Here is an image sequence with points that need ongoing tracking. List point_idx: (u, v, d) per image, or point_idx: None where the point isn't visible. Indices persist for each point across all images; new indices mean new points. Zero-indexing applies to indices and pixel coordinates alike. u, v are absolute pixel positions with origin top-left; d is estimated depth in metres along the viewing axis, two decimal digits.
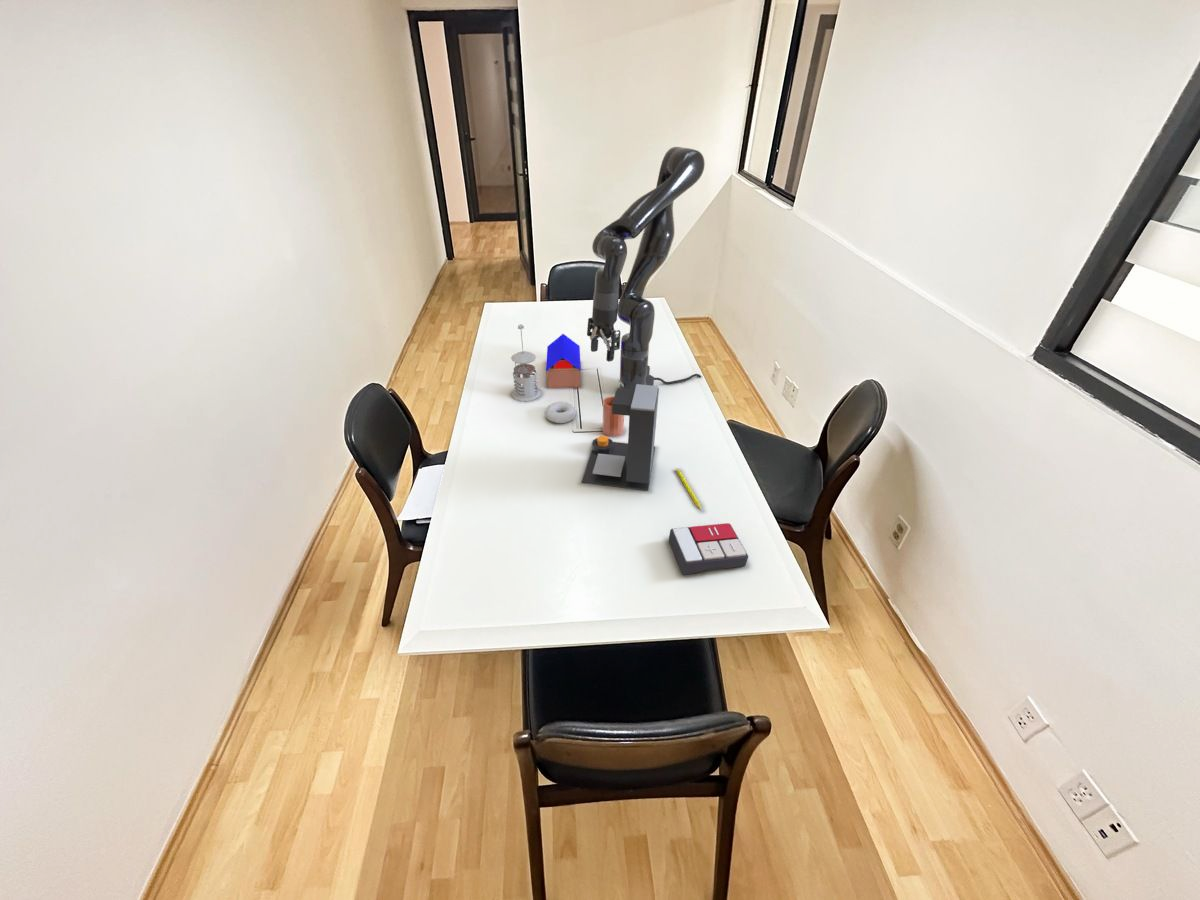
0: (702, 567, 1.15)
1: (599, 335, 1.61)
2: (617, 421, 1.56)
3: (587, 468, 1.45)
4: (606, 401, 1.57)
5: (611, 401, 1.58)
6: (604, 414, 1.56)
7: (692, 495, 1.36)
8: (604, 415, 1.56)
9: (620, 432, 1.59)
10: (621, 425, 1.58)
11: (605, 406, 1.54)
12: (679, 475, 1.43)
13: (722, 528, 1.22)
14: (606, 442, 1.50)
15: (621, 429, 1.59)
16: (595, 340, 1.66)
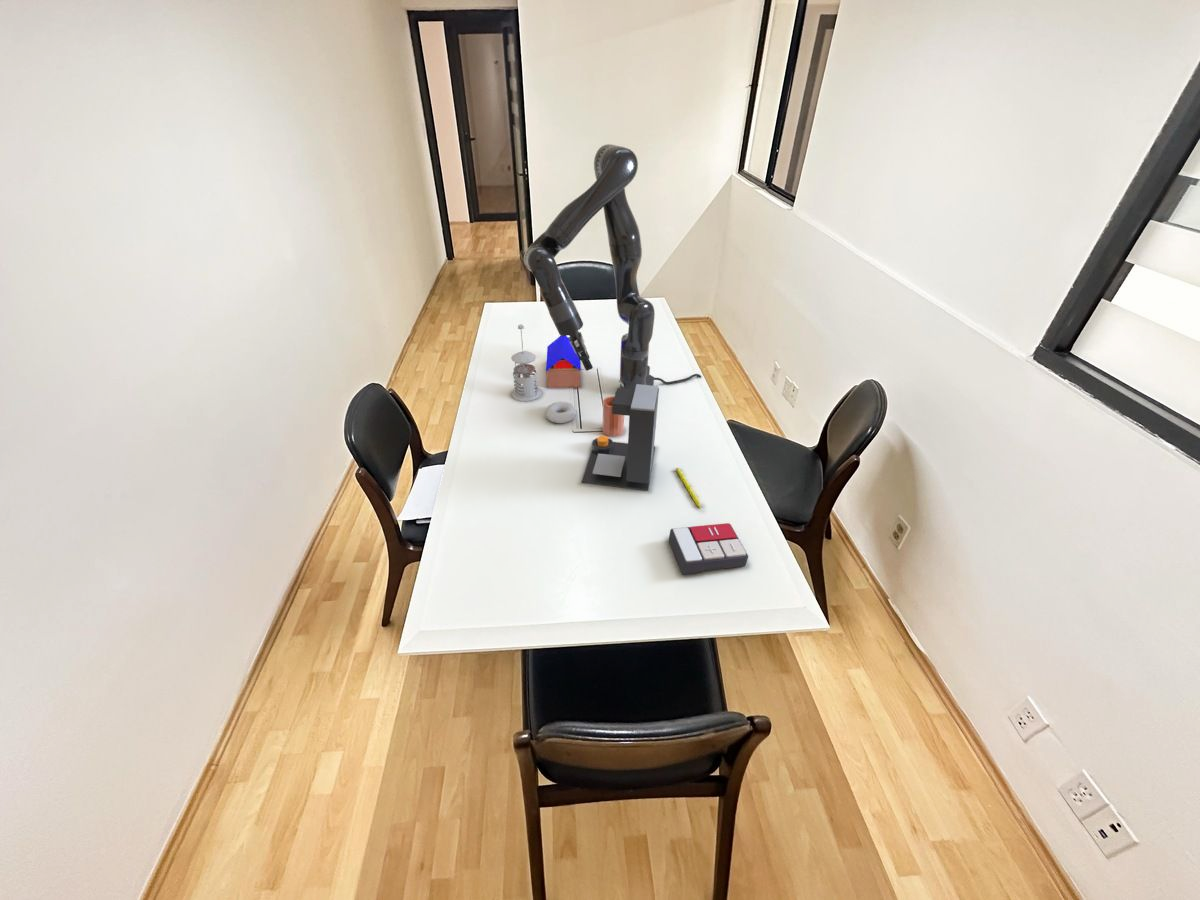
0: (702, 567, 1.15)
1: None
2: (617, 421, 1.56)
3: (587, 468, 1.45)
4: (606, 401, 1.57)
5: (611, 401, 1.58)
6: (604, 414, 1.56)
7: (692, 494, 1.36)
8: (604, 415, 1.56)
9: (620, 432, 1.59)
10: (621, 425, 1.58)
11: (605, 406, 1.54)
12: (679, 474, 1.43)
13: (722, 528, 1.22)
14: (606, 442, 1.50)
15: (621, 429, 1.59)
16: None
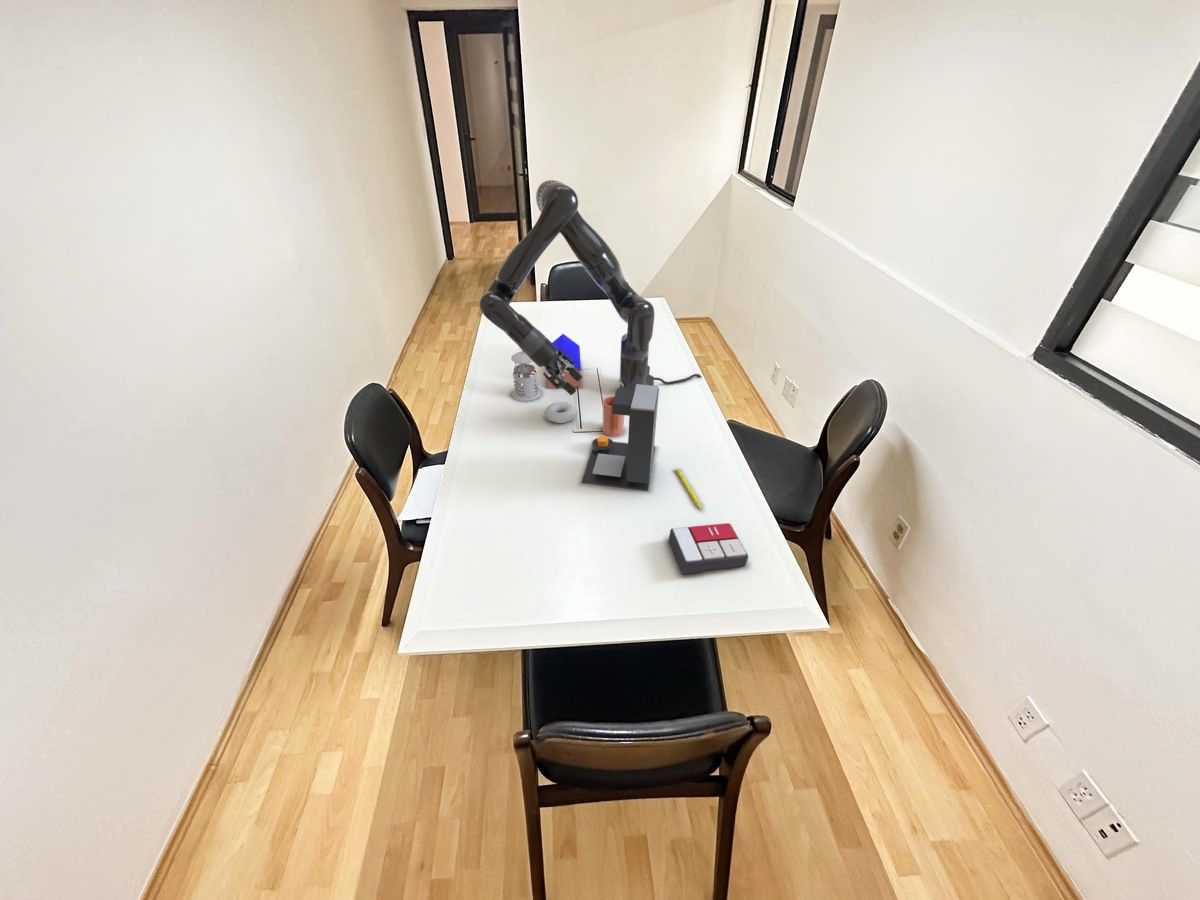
0: (702, 567, 1.15)
1: None
2: (617, 421, 1.56)
3: (587, 468, 1.45)
4: (606, 401, 1.57)
5: (611, 401, 1.58)
6: (604, 414, 1.56)
7: (692, 495, 1.36)
8: (604, 415, 1.56)
9: (620, 432, 1.59)
10: (621, 425, 1.58)
11: (605, 406, 1.54)
12: (679, 475, 1.43)
13: (722, 528, 1.22)
14: (606, 442, 1.50)
15: (621, 429, 1.59)
16: (571, 371, 1.57)
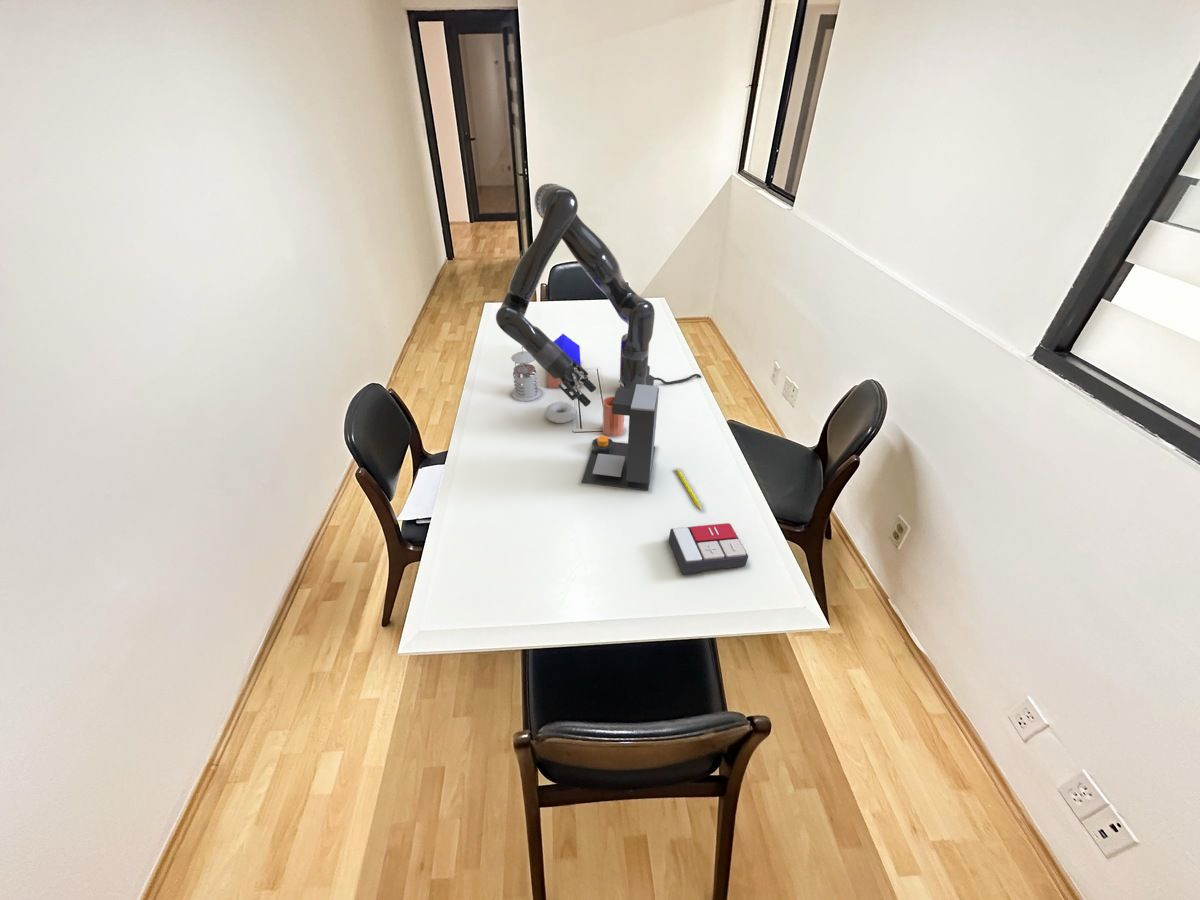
0: (702, 567, 1.15)
1: None
2: (617, 421, 1.56)
3: (587, 468, 1.45)
4: (606, 401, 1.57)
5: (611, 401, 1.58)
6: (604, 414, 1.56)
7: (692, 495, 1.36)
8: (604, 415, 1.56)
9: (620, 432, 1.59)
10: (621, 425, 1.58)
11: (605, 406, 1.54)
12: (679, 475, 1.43)
13: (722, 528, 1.22)
14: (606, 442, 1.50)
15: (621, 429, 1.59)
16: (585, 382, 1.58)
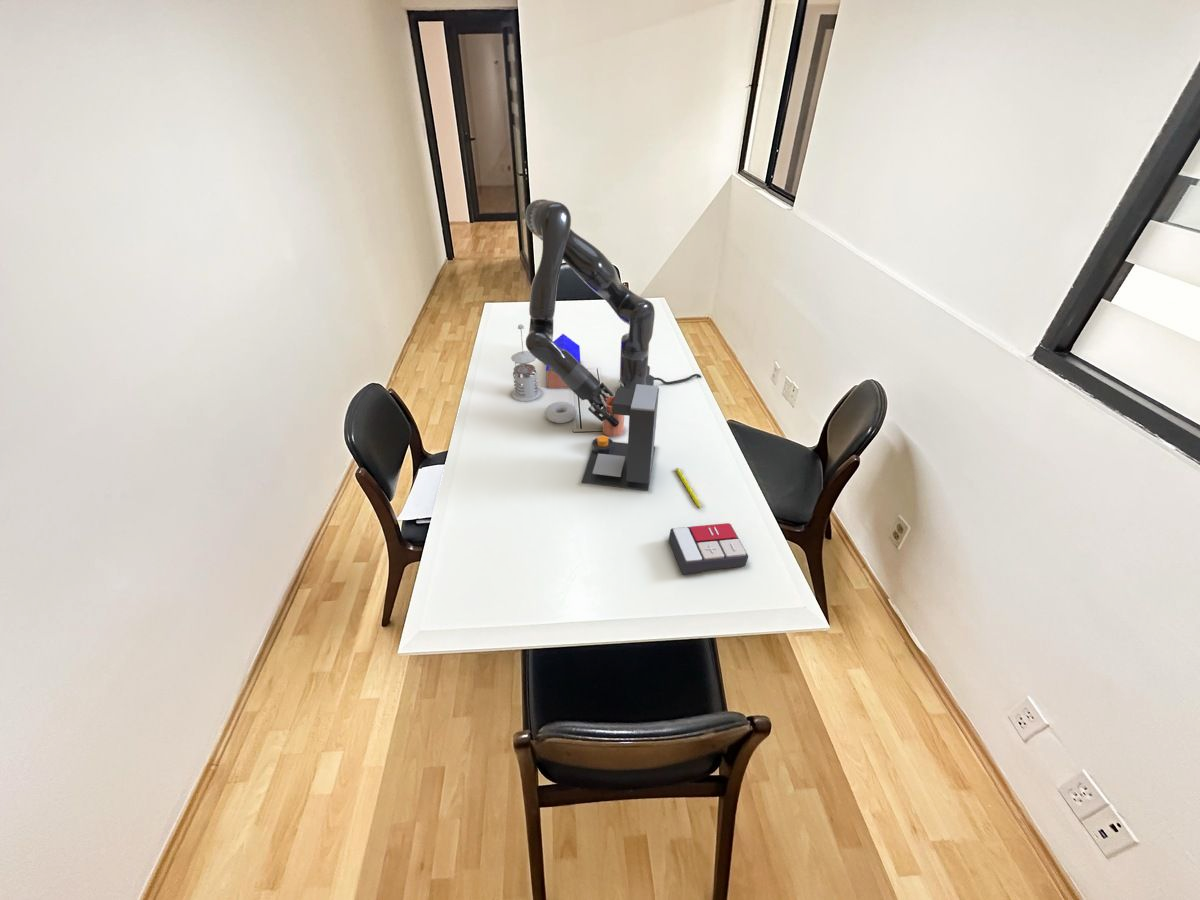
0: (702, 566, 1.15)
1: None
2: None
3: (587, 468, 1.45)
4: (606, 401, 1.57)
5: (611, 401, 1.58)
6: None
7: (692, 494, 1.36)
8: None
9: (620, 432, 1.59)
10: (621, 425, 1.58)
11: None
12: (679, 474, 1.43)
13: (722, 528, 1.22)
14: (606, 442, 1.50)
15: (621, 429, 1.59)
16: None
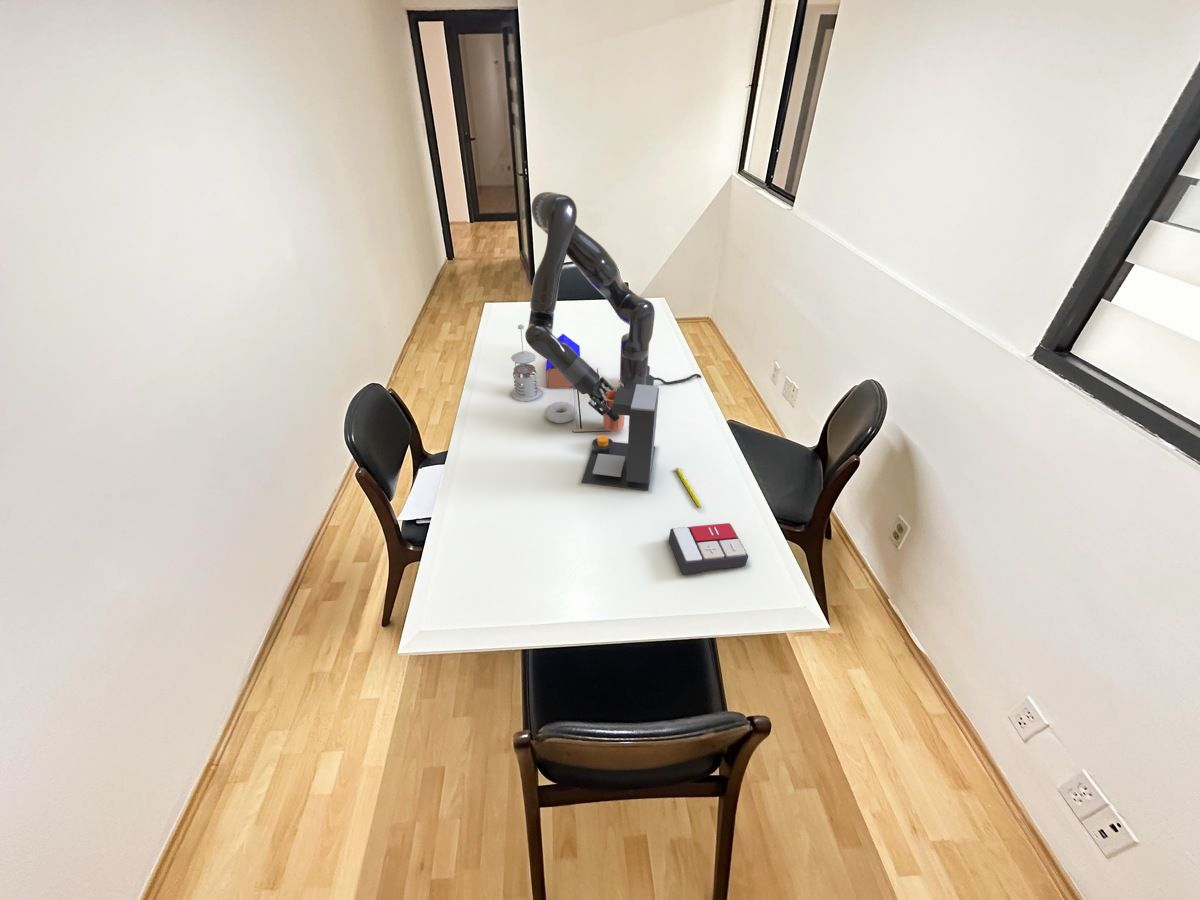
0: (702, 566, 1.15)
1: None
2: None
3: (587, 468, 1.45)
4: (606, 395, 1.56)
5: (611, 395, 1.57)
6: None
7: (692, 494, 1.36)
8: None
9: (621, 427, 1.58)
10: (621, 419, 1.57)
11: None
12: (679, 474, 1.43)
13: (722, 528, 1.22)
14: (606, 442, 1.50)
15: (621, 423, 1.58)
16: None
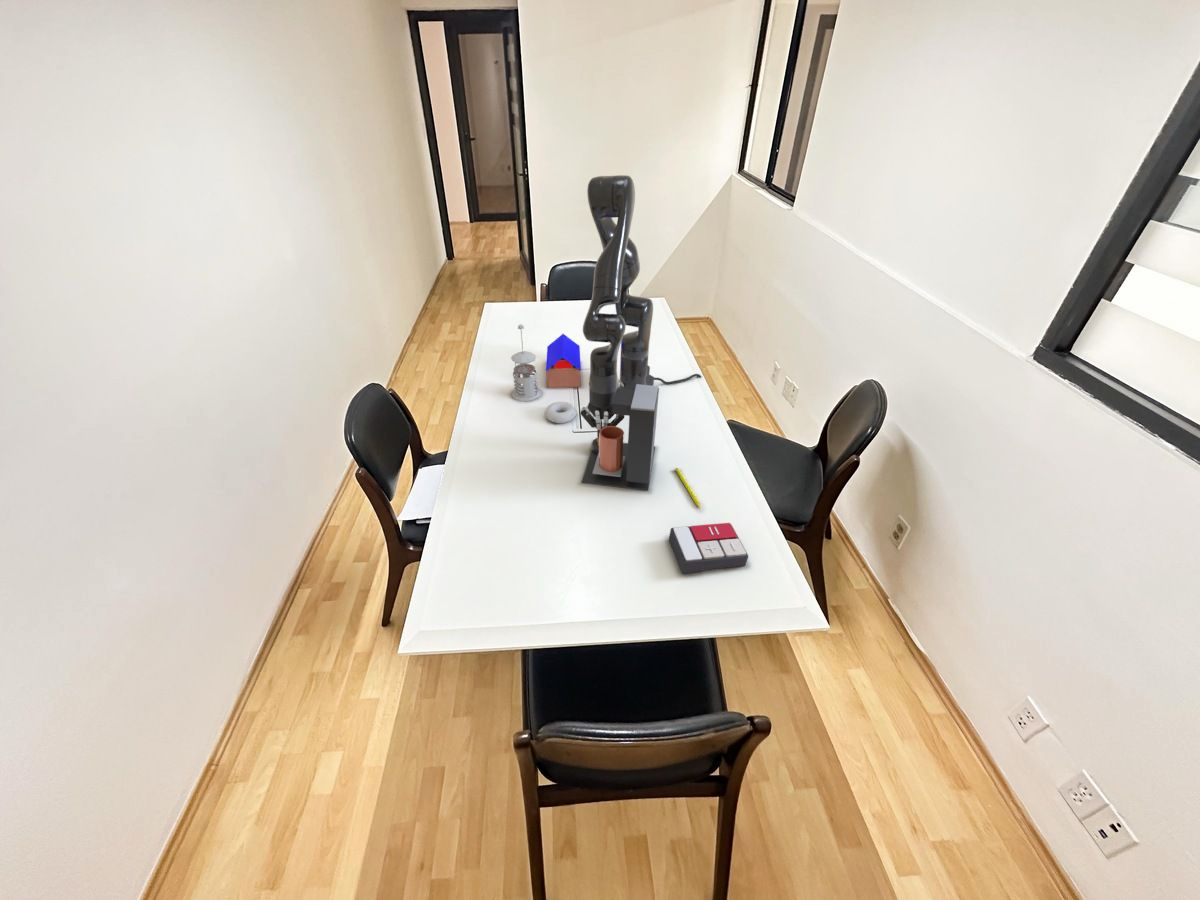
0: (702, 566, 1.15)
1: (600, 417, 1.46)
2: (615, 455, 1.37)
3: (587, 468, 1.45)
4: (602, 432, 1.39)
5: (608, 431, 1.40)
6: (600, 447, 1.38)
7: (692, 494, 1.36)
8: (600, 448, 1.38)
9: (619, 467, 1.41)
10: (620, 459, 1.39)
11: (601, 438, 1.36)
12: (679, 474, 1.43)
13: (722, 527, 1.22)
14: None
15: (620, 463, 1.40)
16: None
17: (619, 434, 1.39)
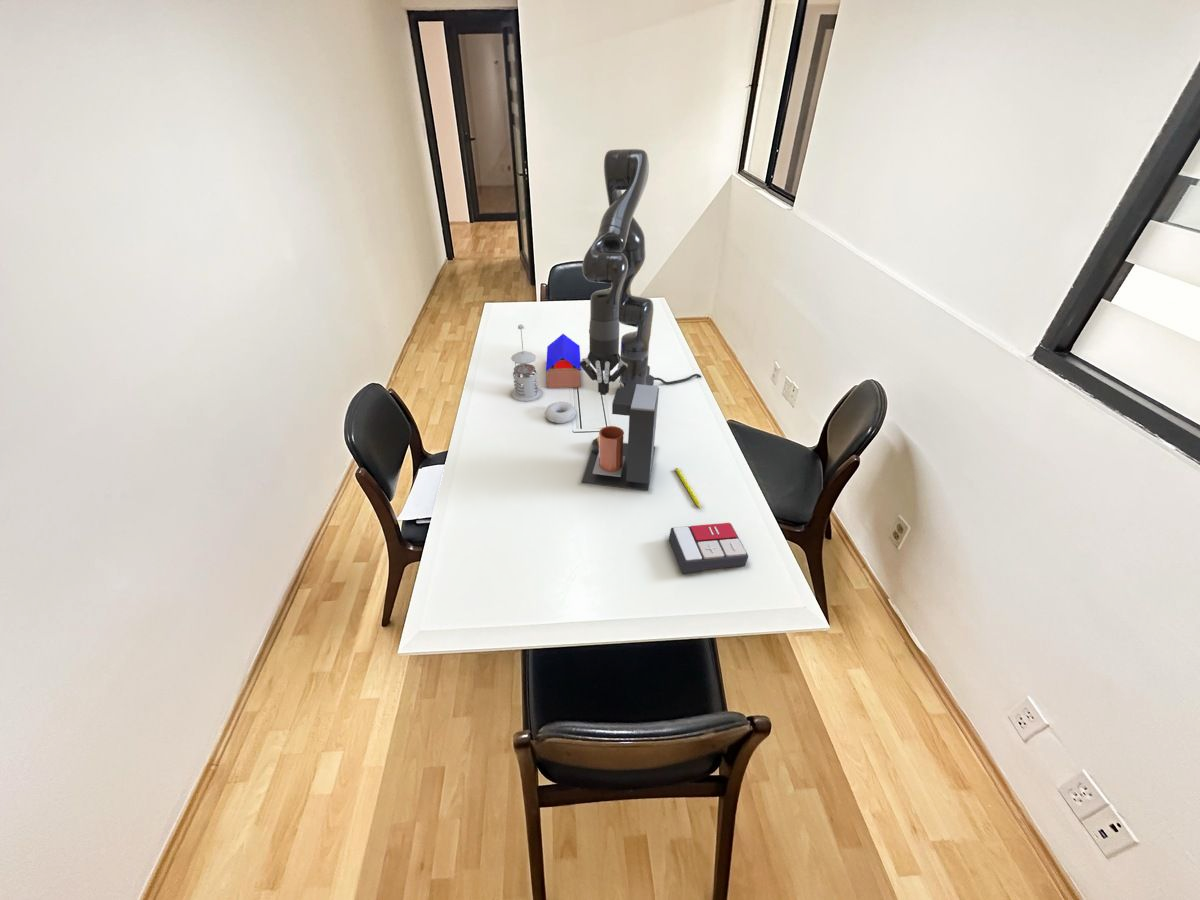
0: (702, 566, 1.15)
1: (601, 369, 1.37)
2: (615, 455, 1.37)
3: (587, 468, 1.45)
4: (602, 432, 1.39)
5: (608, 431, 1.40)
6: (600, 447, 1.38)
7: (692, 494, 1.36)
8: (600, 448, 1.38)
9: (619, 467, 1.41)
10: (620, 459, 1.39)
11: (601, 438, 1.36)
12: (679, 474, 1.43)
13: (722, 527, 1.22)
14: None
15: (620, 463, 1.40)
16: (603, 381, 1.40)
17: (619, 434, 1.39)
